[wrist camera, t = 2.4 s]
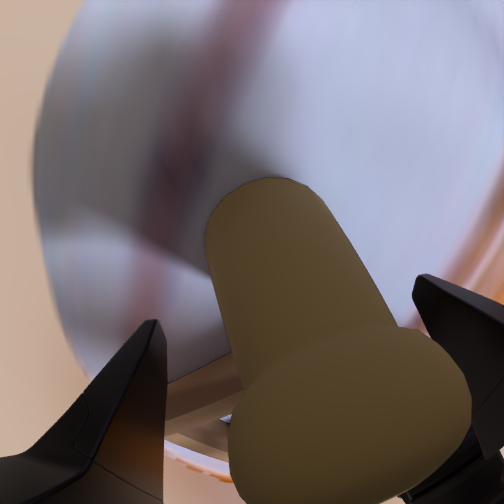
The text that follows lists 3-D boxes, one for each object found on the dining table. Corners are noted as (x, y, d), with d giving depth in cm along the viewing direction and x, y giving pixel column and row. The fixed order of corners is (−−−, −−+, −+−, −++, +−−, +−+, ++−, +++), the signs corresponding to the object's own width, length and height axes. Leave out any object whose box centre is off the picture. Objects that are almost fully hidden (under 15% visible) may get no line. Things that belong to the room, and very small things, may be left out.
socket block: (343, 392, 20) (354, 421, 17) (237, 439, 22) (240, 466, 19) (276, 326, 15) (289, 367, 12) (145, 394, 17) (141, 428, 14)
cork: (349, 193, 12) (549, 374, 2) (310, 301, 15) (398, 497, 5) (216, 164, 11) (262, 524, 1) (196, 289, 13) (200, 539, 4)
